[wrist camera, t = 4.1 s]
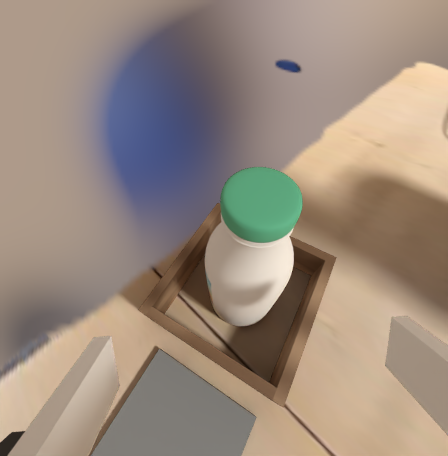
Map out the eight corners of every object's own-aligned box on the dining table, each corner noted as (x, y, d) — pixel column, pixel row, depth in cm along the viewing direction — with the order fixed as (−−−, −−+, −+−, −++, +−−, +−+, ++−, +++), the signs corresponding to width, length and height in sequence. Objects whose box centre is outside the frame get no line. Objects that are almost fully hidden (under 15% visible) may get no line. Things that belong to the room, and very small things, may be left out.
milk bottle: (282, 291, 30) (359, 187, 13) (245, 342, 27) (282, 292, 10) (236, 256, 33) (249, 130, 16) (197, 298, 30) (161, 199, 13)
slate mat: (160, 349, 27) (159, 348, 26) (255, 416, 23) (256, 417, 23) (78, 478, 21) (74, 480, 21) (187, 588, 18) (186, 594, 18)
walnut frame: (218, 222, 36) (217, 202, 31) (321, 272, 31) (336, 257, 27) (151, 319, 28) (138, 310, 24) (272, 401, 24) (283, 407, 20)
